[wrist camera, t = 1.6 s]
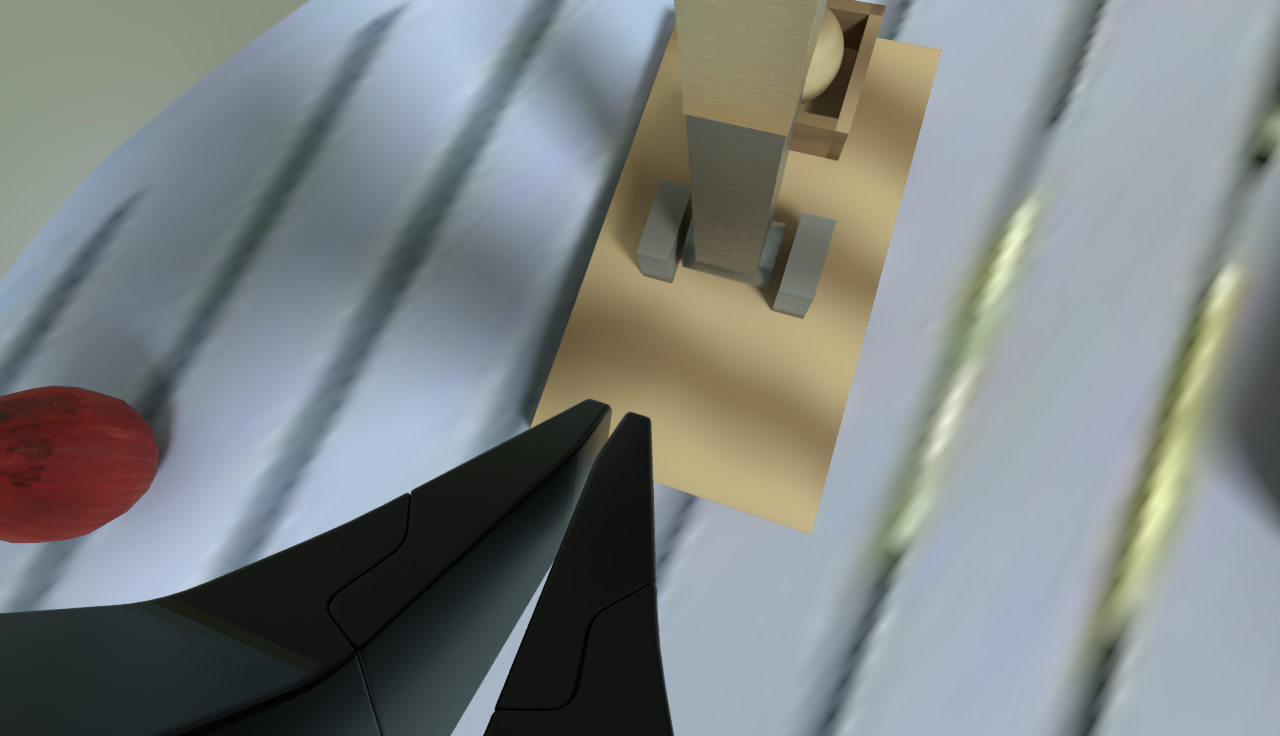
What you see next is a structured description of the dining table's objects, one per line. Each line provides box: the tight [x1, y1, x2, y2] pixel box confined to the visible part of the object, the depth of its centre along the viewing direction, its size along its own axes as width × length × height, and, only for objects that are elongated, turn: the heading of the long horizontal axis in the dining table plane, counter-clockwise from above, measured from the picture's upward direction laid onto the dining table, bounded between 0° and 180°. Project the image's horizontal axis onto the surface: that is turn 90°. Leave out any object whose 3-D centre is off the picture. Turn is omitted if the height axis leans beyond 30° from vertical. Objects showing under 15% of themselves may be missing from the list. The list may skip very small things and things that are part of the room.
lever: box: [674, 0, 827, 289], centre depth 16 cm, size 5×3×14 cm, turn 162°
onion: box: [0, 386, 159, 543], centre depth 21 cm, size 6×6×8 cm
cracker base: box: [530, 0, 942, 534], centre depth 22 cm, size 20×11×4 cm, turn 162°
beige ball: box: [800, 7, 844, 104], centre depth 22 cm, size 4×4×4 cm
